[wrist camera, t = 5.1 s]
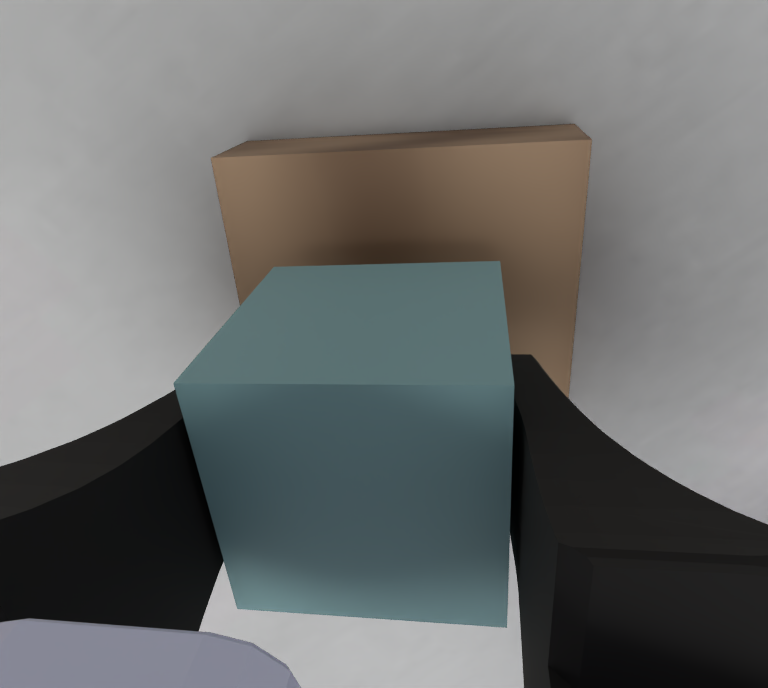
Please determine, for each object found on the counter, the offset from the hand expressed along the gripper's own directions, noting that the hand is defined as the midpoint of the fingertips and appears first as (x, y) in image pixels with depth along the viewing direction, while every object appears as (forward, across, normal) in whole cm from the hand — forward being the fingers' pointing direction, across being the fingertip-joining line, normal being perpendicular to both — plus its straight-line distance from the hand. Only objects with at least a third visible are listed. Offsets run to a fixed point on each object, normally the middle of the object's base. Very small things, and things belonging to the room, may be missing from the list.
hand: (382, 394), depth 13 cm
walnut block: (+7, 0, 0) cm, 7 cm away
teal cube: (+2, 0, 0) cm, 2 cm away
